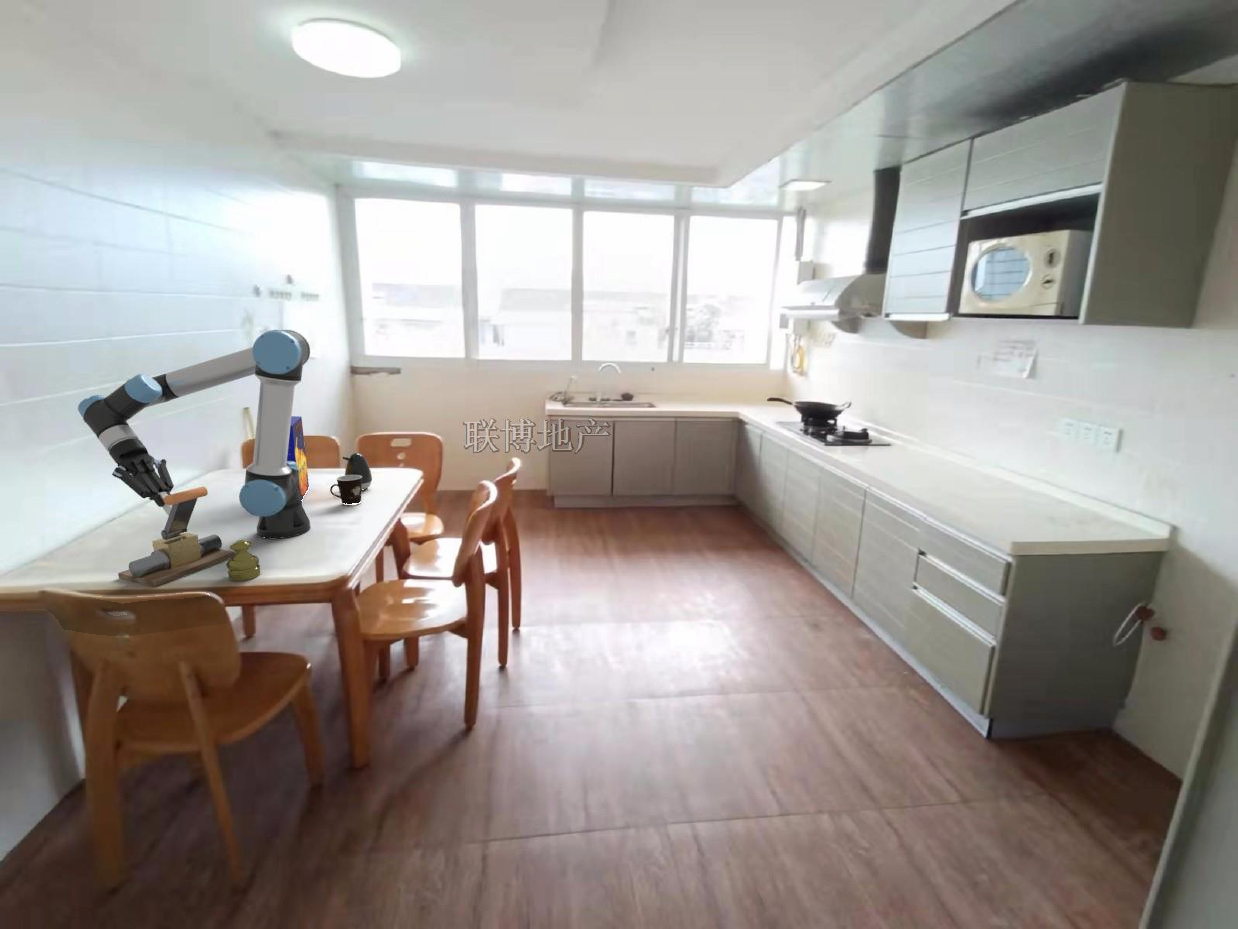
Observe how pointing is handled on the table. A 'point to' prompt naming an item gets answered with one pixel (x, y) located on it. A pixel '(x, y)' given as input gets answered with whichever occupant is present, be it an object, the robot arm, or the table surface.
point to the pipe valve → (176, 559)
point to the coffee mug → (349, 488)
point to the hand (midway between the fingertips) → (174, 513)
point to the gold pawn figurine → (242, 562)
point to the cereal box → (298, 452)
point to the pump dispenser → (359, 468)
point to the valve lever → (181, 511)
